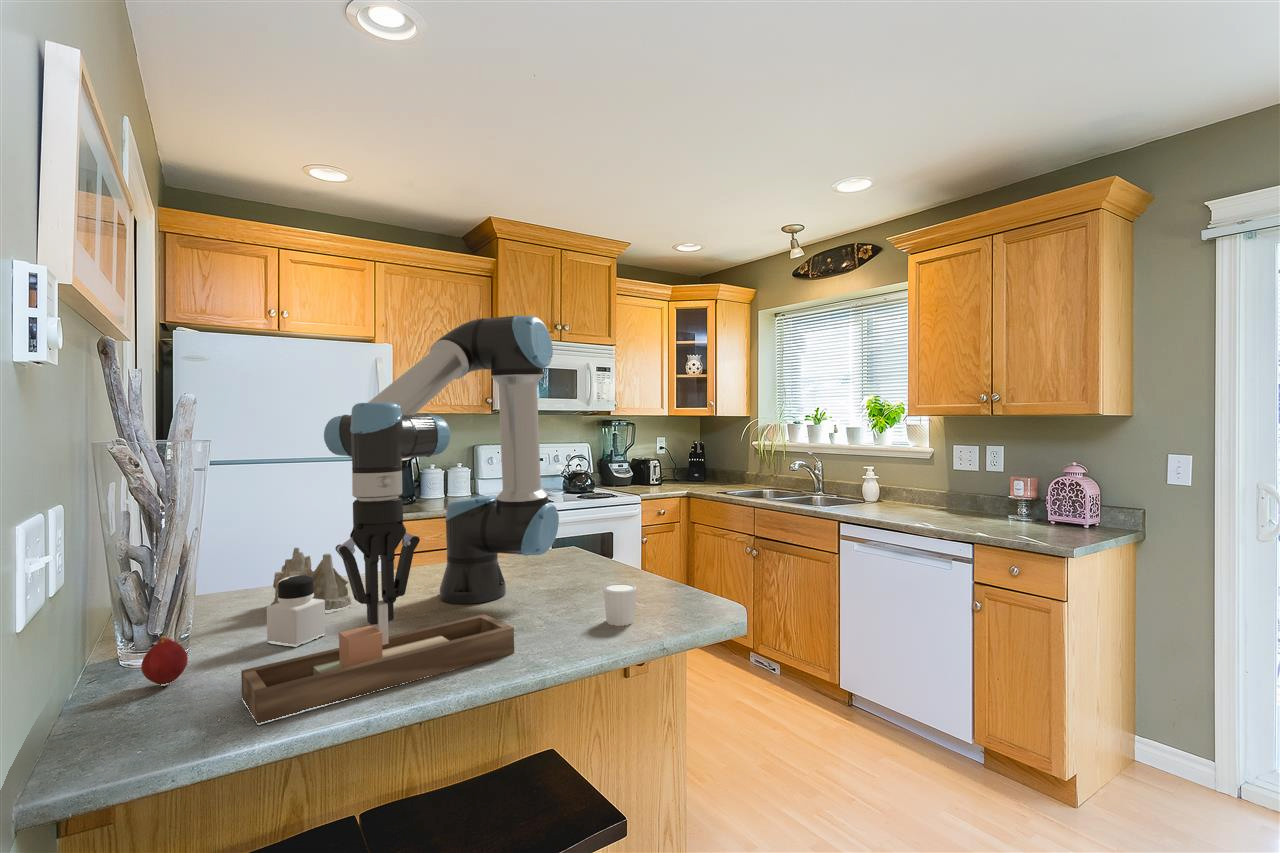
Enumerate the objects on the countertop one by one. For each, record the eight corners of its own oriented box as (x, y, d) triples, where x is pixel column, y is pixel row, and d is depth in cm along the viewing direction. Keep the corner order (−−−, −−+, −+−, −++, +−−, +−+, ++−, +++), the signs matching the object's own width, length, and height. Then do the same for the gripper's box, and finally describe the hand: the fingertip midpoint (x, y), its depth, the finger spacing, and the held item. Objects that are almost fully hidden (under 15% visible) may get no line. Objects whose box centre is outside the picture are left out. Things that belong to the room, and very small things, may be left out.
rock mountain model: (354, 610, 141) (349, 541, 141) (268, 625, 133) (263, 552, 134) (349, 597, 155) (345, 535, 155) (270, 610, 147) (266, 544, 147)
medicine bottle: (326, 635, 125) (325, 574, 125) (295, 648, 118) (294, 583, 118) (298, 632, 127) (296, 571, 127) (266, 644, 120) (265, 580, 120)
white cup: (633, 627, 127) (632, 592, 127) (599, 626, 129) (599, 591, 129) (640, 617, 134) (639, 583, 134) (608, 615, 135) (607, 582, 135)
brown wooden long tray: (241, 700, 96) (241, 670, 96) (484, 637, 123) (484, 613, 123) (257, 726, 88) (256, 693, 88) (514, 652, 114) (513, 627, 114)
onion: (158, 679, 105) (157, 630, 104) (195, 677, 105) (194, 629, 105) (133, 694, 99) (132, 642, 99) (173, 692, 99) (171, 641, 99)
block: (339, 663, 103) (338, 632, 102) (371, 655, 106) (371, 625, 106) (349, 672, 99) (348, 640, 99) (382, 663, 102) (382, 632, 102)
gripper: (342, 503, 97) (346, 659, 97) (426, 495, 105) (429, 638, 106) (328, 499, 103) (331, 646, 103) (408, 492, 111) (411, 627, 111)
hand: (381, 642), depth 104 cm, fingers closed
